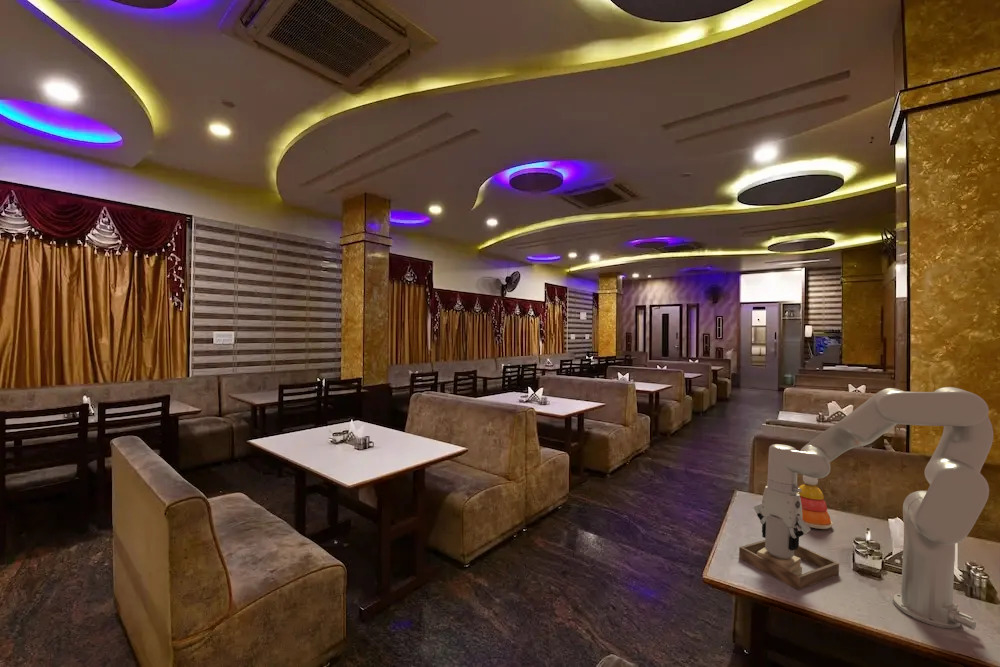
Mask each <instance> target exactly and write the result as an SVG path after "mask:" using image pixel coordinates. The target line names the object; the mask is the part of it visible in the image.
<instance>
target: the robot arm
mask: <svg viewBox="0 0 1000 667" xmlns="http://www.w3.org/2000/svg"><path fill="white" fill-rule="evenodd" d="M989 412H990V409H989V405H988V404H987V402H986V401H985V400H984V398H982V397H981V396H979V395H978V394H976V393H973V392H971V391H967V390H965V389H962V388H959V387H954V386H945V387H939V388H938V389H936V390H934V391H904V390H902V389H899V388H895V387H894V388H892V387H889V388H888V387H887V388H884V389H882V390H880V391H878V392H876V393H874V394H873V395H872V396H871V397H869V398H868V399H867V400H866V401H865V402H863V403H861V404H860V405H859V406H858V407H857V408H855V409H854V410H852V412H849V414H847V415H846V416H845V417H843V418H842V419H840V420H839V421H837V422H836V423H834V424H833V425H831V426H830V427H828V428H827V429H826V430H824V431H822V432H821V433H819V434H818V435H817V436H816V437H814V438H813V439H812V440H810V441H809V442H808V443H806V444H805V445H804V446H803V447H802V448H801V449H800V450H797V448H796V447H793V446H791V445H787V444H779V443H775V444H771V445H770V446H769V447H768V457H767V458H768V459H767V460H768V461H767V462H768V463H767V483H766V484H767V485H766V486H765V487H764V490H763V494H762V498H761V503H760V504H759V505H758V504H757V505H755V506H753V509H754V511H755V514H756V516H757V518H758V519H759V521H760V524H761V533H762V535H761V536H762V538H764V539H765V534H766V517H768V516H770V515H769V514H771V515H772V516H774V517H776V518H779V519H783V522H784V523H785V525H786V526H787V527H788V528H789V531H790V533H791V537H789V550H791V551H793V550H796V549H798V547H799V545H800V537H802V536H804V535H806V534H807V533H809V532H810V531H811V529H812V528H811V527H809V526H808V525H807V524H806V523H805V522H804V521H803V518H802V504H801V498H800V495H799V494H798V493H797V492H799V493H800V492H801V488H799V486H798V474H800V475H802V476H804V475H805V476H808V477H811V478H818V479H823V478H825V477H827V476H828V475H829V474H830V472H831V466H832V465H831V462H833V461H834V460H835V459H837V458H838V457H839V456H841V455H842V454H844V453H846V452H847V451H850V450H851V449H854V448H859V447H864V446H867V445H869V444H872V443H873V442H875V441H876V440H877V439H879V438H880V437H881V436H883V435H884V434H885V433H887V432H888V431H890V430H891V429H892V428H894V427H895V426H897V425H905V426H906V425H907V426H908V425H909V426H922V427H923V426H924V427H925V426H926V427H927V426H930V427H943V431H942V435H941V437H940V438H939V442H938V444H937V446H936V448H935V450H934V452H933V454H932V456H931V457H930V459H929V461H928V462H927V464H926V466H925V468H924V477H925V479H926V481H927V483H928V484H929V487H928V489H927V490H917V491H913V492H911V493H909V494H908V495H907V496H906V497H905V498H904V500H903V505H902V517H903V520H902V521H903V548H902V564H901V565H902V568H901V569H902V571H901V587H900V588H901V589H900V590H901V592H900V593H896V594H894V595H893V596H892V602H893V604H894V606H896V607H897V608H898V609H899V610H900V611H901V612H902V613H904V614H906V615H908V616H910V617H911V618H913V619H916V620H917V621H920V622H922V623H925V624H928V625H932V626H934V627H938V628H942V629H958V628H959V627H961V625H962V626H964V627H966V628H968V629H970V630H972V631H973V630H975V629H976V626H977V625H976V624H977V623H976V621H974V618H973V616H970V615H969V614H966V613H964V612H960V610H959V609H958V604H957V603H955V602H953V601H954V600H953V599H954V582H955V581H954V579H955V576H954V575H955V561H956V544H958V543H960V542H962V541H963V540H964V539H966V538H967V536H968V535H969V534H970V532H971V530H972V529H973V528H974V526H975V524H976V522H977V520H978V519H979V516H980V515H981V514H982V511H983V509H984V508H985V505H986V503H987V501H988V499H989V497H990V496H989V494H990V486H989V483H988V481H987V479H986V478H985V477H984V475H983V474H982V473H981V470H982V469H983V466H984V463H985V462H986V460H987V458H988V455H989V453H990V450H991V449H992V448H991V447H992V445H993V441H994V429H993V424H992V422H991V419H990V417H989ZM799 527H801V529H799ZM793 528H794V529H793Z"/></svg>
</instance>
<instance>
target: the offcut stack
mask: <svg viewBox="0 0 1000 667" xmlns="http://www.w3.org/2000/svg"><path fill="white" fill-rule="evenodd" d="M757 555H759V556H760V557H762V558H764V559H766V560H768V561H770V562H772V563H774V564H776V565H778V566H780V567H782V568H784V569H785V570H787V571H789V572H791V573H793V574H795V575H797V576H798V575H801V574H803V566H801V565H802V564H801V561H802V558H800V557H798V556H796V555H794V556H793V557H790V558H789V559H782V558H778V557H775V556H773V555H771V554H770V553H769V552H768V551H767V550H766V549H765V547H764V548H763V549H761V550H759V551H758V552H757Z"/></svg>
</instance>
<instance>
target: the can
mask: <svg viewBox="0 0 1000 667" xmlns="http://www.w3.org/2000/svg"><path fill="white" fill-rule="evenodd" d="M769 515H770V516H768V517H766V534H765V538H764V540H765V549H766V550H767V551H768V552H769V553H770V554H771V555H773V556H775V557H778V558H782V559H789V558H790V557H793V556H795V555H794V550H793V551H791V550H789V537H791V533H790V531H789V528H788V527H787V526H786V525H785V523H784V522H783V519H779V518H776V517H774V516H772V515H771V514H769ZM793 529H794V528H793Z"/></svg>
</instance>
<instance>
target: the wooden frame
mask: <svg viewBox="0 0 1000 667" xmlns="http://www.w3.org/2000/svg"><path fill="white" fill-rule="evenodd" d="M764 547H765V539H764V540H760V541H755V542H752V543H749V544H746V545H742V546H739V549H738V550H739V551H738V558H739V559H741V560H743V561H745V562H746V563H748V564H749V565H752V566H753V567H755V568H757V569H759V570H760V571H762V572H764V573H767V574H768V575H770V576H772V577H773V578H775V579H778V580H779V581H781V582H782V583H785V584H786V585H788V586H790V587H791V588H793V587H794V589H795V590H797V591H799V590H802V589H805V588H807V587H811V586H812V585H815V584H818V583H820V582H823V581H826V580H829V579H831V578H833V577H837V576H839V575H840V563H839V562H837V561H834V560H832V559H830V558H828V557H826V556H824V555H822V554H820V553H817V552H814V551H813V550H810V549H808V548H806V547H804V546H802V545H800V544H799V547H798V549H796V550H794V556H796V557H799V558H801V560H804V561H806V562H808V563H810V564H812V565H814V566H816V567H818V568H816V569H812V570H810V571H807V572H804V573H802V574H801V575H798V576H797V575H795V574H793V573H791V572H789V571H787V570H785V569H784V568H782V567H780V566H778V565H776V564H774V563H772V562H770V561H768V560H766V559H764V558H762V557H760V556H759V555H757V552H758V551H759V550H761V549H763V548H764Z"/></svg>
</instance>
